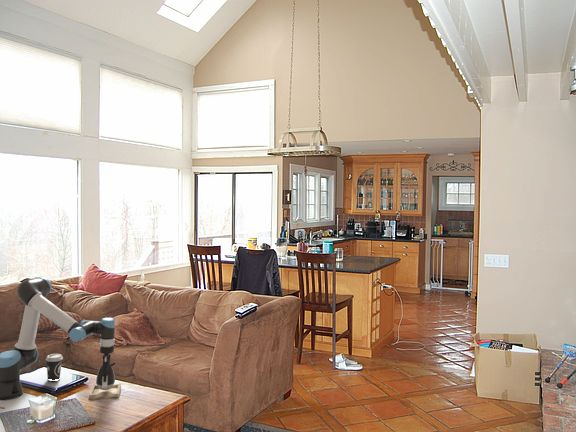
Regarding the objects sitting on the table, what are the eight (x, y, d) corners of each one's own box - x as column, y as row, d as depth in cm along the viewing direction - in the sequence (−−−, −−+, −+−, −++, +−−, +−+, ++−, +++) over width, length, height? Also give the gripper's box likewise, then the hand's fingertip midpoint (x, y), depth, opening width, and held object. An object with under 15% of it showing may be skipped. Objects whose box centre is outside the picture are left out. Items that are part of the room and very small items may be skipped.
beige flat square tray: (88, 399, 287) (88, 395, 287) (92, 388, 303) (92, 384, 302) (118, 398, 291) (119, 393, 291) (120, 387, 307) (121, 383, 306)
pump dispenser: (117, 389, 296) (118, 363, 295) (98, 393, 290) (99, 366, 289) (112, 384, 304) (113, 358, 303) (93, 386, 298) (94, 360, 297)
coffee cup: (56, 376, 320) (57, 352, 319) (65, 380, 314) (66, 355, 314) (41, 380, 312) (42, 355, 312) (50, 384, 306) (51, 359, 306)
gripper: (112, 351, 286) (110, 390, 287) (115, 339, 308) (114, 376, 309) (98, 351, 284) (96, 391, 285) (102, 339, 306) (100, 377, 307)
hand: (105, 383), depth 297 cm, fingers closed on pump dispenser, 10 cm apart
